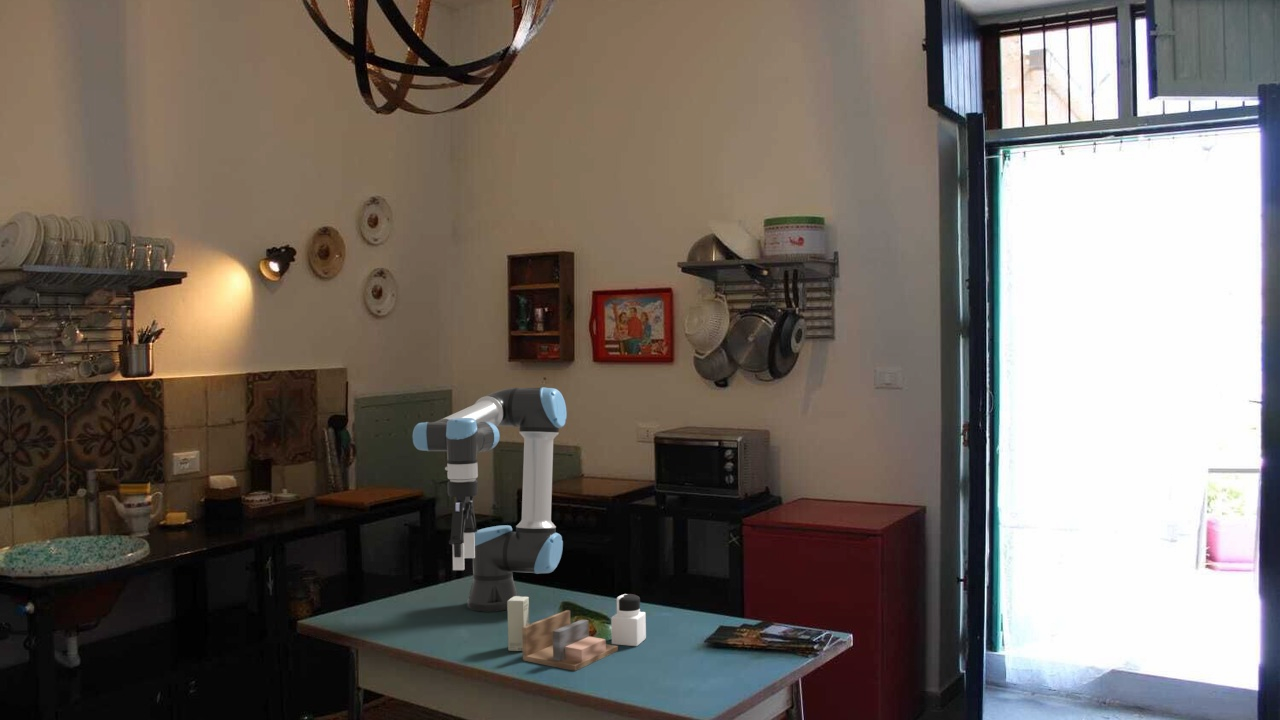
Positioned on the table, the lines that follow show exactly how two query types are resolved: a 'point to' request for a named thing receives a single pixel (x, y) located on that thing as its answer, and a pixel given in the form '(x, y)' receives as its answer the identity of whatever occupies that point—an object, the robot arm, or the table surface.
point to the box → (517, 621)
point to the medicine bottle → (628, 621)
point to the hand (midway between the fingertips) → (464, 563)
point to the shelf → (545, 643)
